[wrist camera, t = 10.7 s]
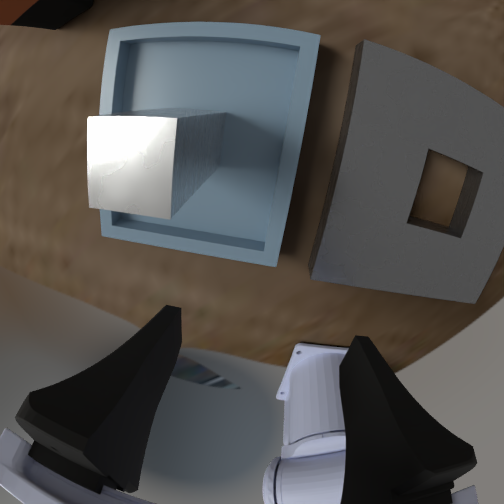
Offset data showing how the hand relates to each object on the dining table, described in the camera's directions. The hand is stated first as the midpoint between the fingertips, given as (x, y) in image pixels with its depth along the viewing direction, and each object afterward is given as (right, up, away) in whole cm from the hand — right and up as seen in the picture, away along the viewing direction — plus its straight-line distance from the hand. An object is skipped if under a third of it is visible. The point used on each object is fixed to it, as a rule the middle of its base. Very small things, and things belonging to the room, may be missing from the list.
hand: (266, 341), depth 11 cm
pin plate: (+13, +8, +6) cm, 16 cm away
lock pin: (-4, +11, +6) cm, 13 cm away
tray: (-4, +11, +6) cm, 13 cm away
